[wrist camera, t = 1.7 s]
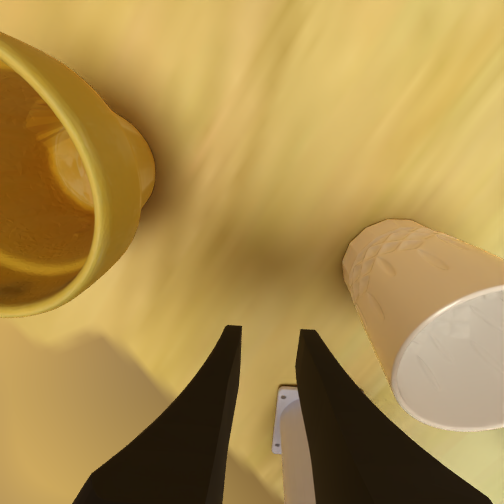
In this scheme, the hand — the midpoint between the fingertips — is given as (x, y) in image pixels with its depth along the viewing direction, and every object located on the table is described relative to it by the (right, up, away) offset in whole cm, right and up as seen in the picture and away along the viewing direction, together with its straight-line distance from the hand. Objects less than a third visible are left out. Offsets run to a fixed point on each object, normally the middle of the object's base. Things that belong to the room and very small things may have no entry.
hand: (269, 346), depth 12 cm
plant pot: (-10, +10, +7) cm, 16 cm away
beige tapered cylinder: (+9, +3, +9) cm, 13 cm away
